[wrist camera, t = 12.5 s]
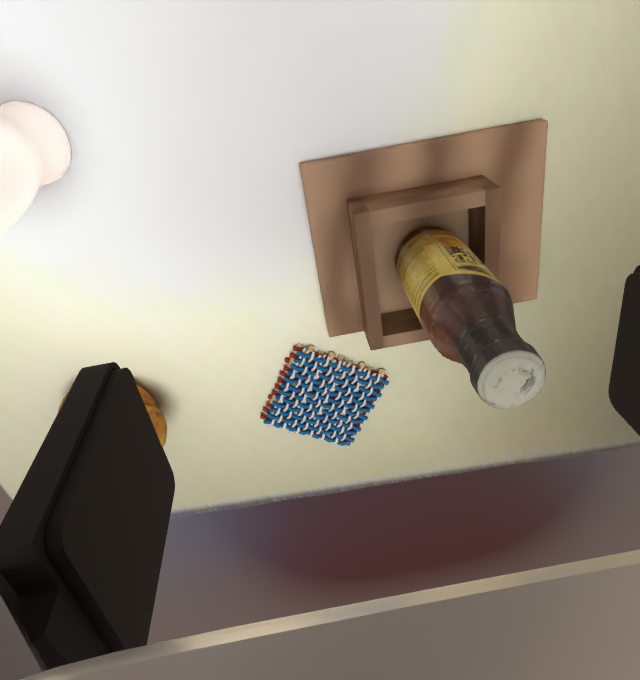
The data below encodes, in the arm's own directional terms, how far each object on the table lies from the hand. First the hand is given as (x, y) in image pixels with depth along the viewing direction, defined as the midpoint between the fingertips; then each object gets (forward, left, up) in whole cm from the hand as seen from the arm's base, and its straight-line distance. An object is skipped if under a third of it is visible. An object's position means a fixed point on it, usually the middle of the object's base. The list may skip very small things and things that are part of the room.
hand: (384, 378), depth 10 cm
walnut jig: (-10, +12, -36) cm, 40 cm away
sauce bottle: (-10, +14, -35) cm, 39 cm away
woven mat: (+2, +27, -37) cm, 46 cm away
